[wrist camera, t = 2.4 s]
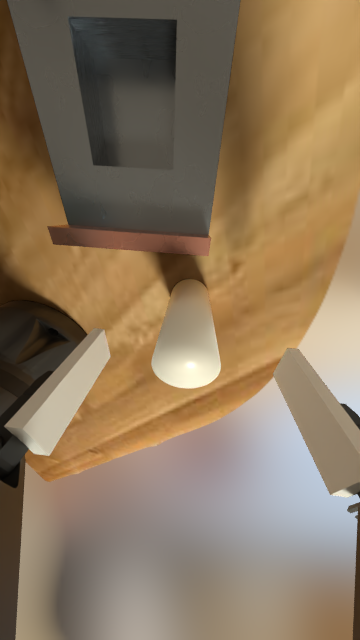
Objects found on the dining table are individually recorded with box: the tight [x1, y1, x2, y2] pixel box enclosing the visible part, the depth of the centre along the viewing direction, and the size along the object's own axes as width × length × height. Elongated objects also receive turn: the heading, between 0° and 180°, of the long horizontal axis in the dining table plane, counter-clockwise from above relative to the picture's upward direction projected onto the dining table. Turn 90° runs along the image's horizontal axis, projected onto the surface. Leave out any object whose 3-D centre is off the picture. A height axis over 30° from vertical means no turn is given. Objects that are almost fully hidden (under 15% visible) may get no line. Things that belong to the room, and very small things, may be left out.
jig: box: [7, 0, 240, 256], centre depth 10 cm, size 12×16×5 cm
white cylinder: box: [152, 279, 221, 388], centre depth 15 cm, size 5×5×11 cm
